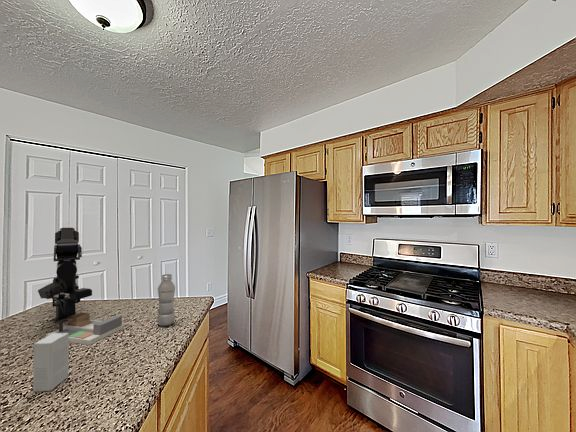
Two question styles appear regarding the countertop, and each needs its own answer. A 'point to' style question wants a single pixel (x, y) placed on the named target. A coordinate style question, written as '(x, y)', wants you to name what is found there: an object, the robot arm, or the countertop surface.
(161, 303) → the plastic bottle
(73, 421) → the countertop surface
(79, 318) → the slider
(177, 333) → the countertop surface
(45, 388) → the skincare box
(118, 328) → the gauge base
